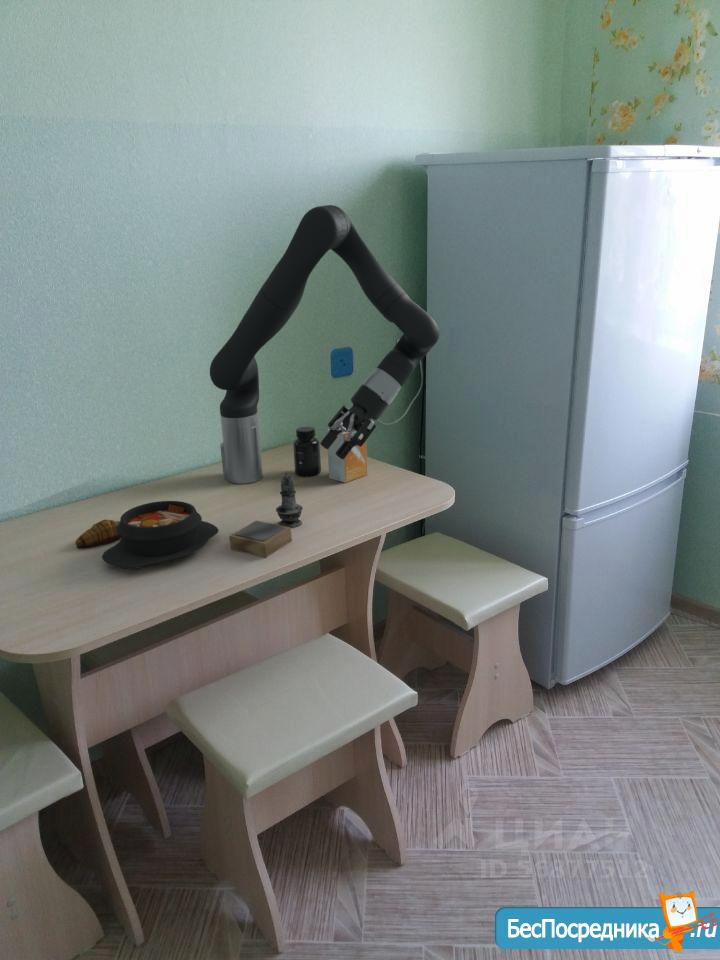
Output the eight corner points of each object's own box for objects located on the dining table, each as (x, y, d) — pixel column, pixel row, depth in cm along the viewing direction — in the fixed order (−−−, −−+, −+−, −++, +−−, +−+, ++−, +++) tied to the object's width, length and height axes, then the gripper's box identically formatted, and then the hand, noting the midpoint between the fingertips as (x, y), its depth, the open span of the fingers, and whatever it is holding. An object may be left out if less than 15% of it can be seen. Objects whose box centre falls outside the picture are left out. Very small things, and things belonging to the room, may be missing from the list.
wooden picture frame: (230, 549, 162) (229, 535, 161) (257, 533, 169) (255, 519, 168) (266, 557, 158) (264, 542, 156) (291, 540, 165) (290, 526, 164)
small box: (345, 483, 197) (343, 433, 192) (328, 478, 201) (325, 429, 197) (368, 475, 202) (366, 426, 197) (351, 470, 206) (349, 422, 202)
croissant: (83, 555, 163) (79, 533, 161) (70, 545, 167) (67, 524, 166) (144, 536, 171) (141, 515, 169) (130, 527, 176) (127, 506, 174)
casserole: (182, 521, 177) (178, 486, 174) (238, 541, 166) (235, 504, 163) (84, 561, 159) (78, 523, 156) (139, 586, 148) (133, 545, 145)
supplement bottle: (289, 474, 205) (286, 430, 201) (307, 467, 210) (305, 423, 206) (308, 479, 201) (305, 434, 196) (326, 472, 205) (324, 427, 201)
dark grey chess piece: (305, 518, 176) (302, 467, 172) (301, 529, 171) (297, 477, 166) (279, 518, 177) (275, 468, 173) (274, 529, 171) (270, 477, 167)
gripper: (351, 377, 177) (307, 434, 177) (379, 389, 165) (332, 450, 165) (373, 397, 181) (329, 453, 181) (402, 410, 169) (356, 470, 168)
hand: (331, 451), depth 173 cm, fingers open, 8 cm apart
